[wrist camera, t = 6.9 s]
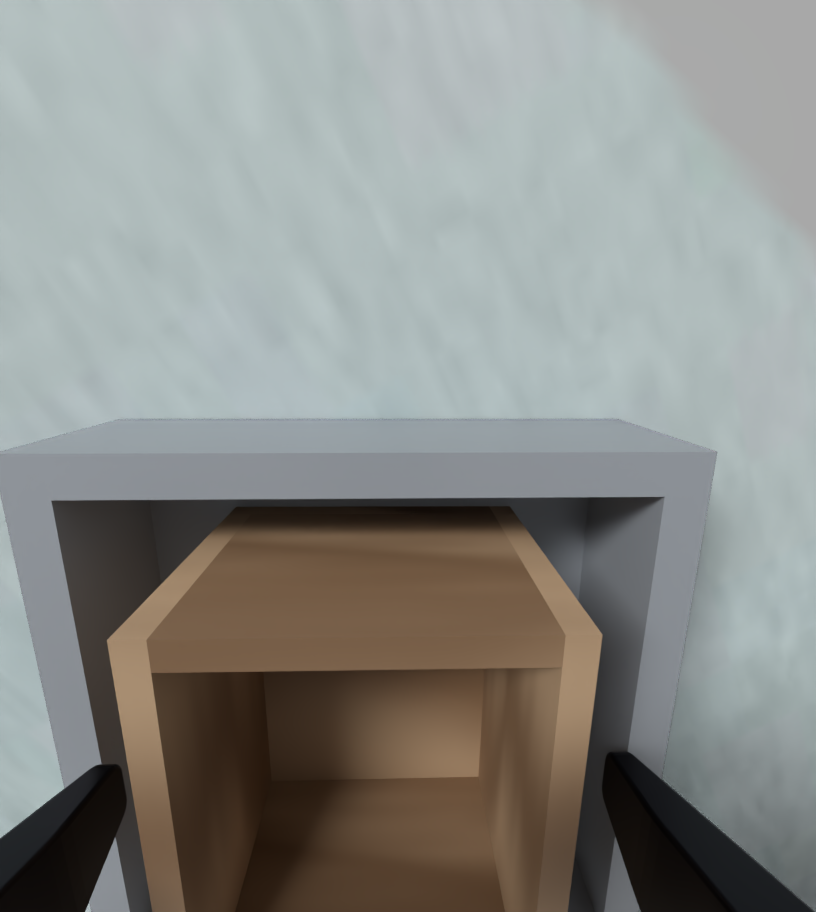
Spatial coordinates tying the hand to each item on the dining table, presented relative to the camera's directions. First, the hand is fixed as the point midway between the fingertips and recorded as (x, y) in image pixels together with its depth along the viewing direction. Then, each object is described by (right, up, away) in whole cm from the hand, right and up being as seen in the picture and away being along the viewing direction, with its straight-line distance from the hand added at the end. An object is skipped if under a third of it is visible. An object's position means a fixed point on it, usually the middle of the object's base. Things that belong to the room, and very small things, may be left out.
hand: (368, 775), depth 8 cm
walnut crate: (0, +1, +3) cm, 4 cm away
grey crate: (0, +1, +4) cm, 4 cm away
